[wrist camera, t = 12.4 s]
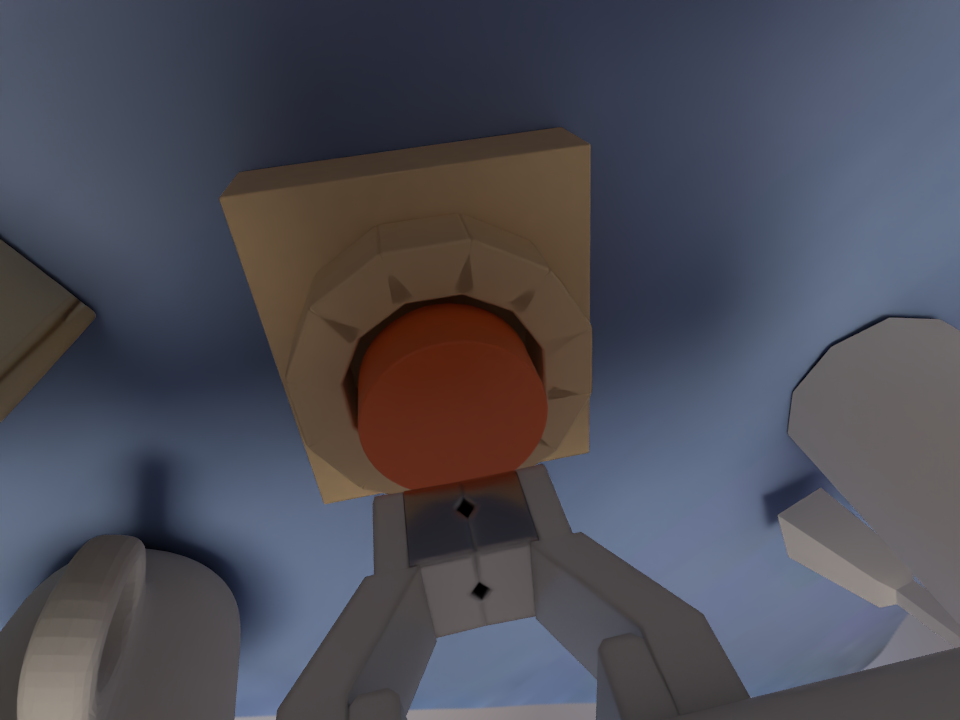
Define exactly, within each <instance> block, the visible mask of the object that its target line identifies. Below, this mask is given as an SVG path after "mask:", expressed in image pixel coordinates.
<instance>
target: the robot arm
mask: <svg viewBox="0 0 960 720" xmlns="http://www.w3.org/2000/svg"><path fill="white" fill-rule="evenodd" d="M373 547H374V575H372V576H367V577H365V578H364V579H363V581H362V582H361V584H360V585H359V587H358V589H357V590H356V592H355V593H354V595H353V596H352V598H351V599H350V601H349V602H348V604H347V605H346V607H345V608H344V610H343V611H342V613H341V614H340V616H339V617H338V619H337V620H336V622H335V623H334V625H333V626H332V628H331V629H330V631H329V632H328V634H327V635H326V637H325V638H324V640H323V641H322V643H321V644H320V646H319V648H318V649H317V651H316V652H315V654H314V655H313V657H312V658H311V660H310V661H309V663H308V664H307V666H306V667H305V669H304V670H303V672H302V673H301V675H300V676H299V678H298V679H297V681H296V682H295V684H294V685H293V687H292V688H291V690H290V691H289V693H288V694H287V696H286V697H285V699H284V700H283V702H282V703H281V705H280V707H279V708H278V710H277V716H276V720H407V718H406V715H407V713H408V710H409V708H410V705H411V703H412V700H413V698H414V696H415V693H416V691H417V688H418V686H419V683H420V681H421V678H422V676H423V674H424V671H425V669H426V666H427V664H428V661H429V659H430V656H431V654H432V652H433V649H434V647H435V644H436V642H437V641H436V638H438V637H442V636H446V635H450V634H454V633H458V632H462V631H466V630H470V629H474V628H478V627H482V626H487V625H492V624H497V623H502V622H507V621H512V620H518V619H523V618H528V617H533V616H536V619H537V620H538V621H539V622H540V623H541V624H542V625H543V626H544V627H545V628H546V629H547V630H548V631H549V632H550V633H551V634H552V635H553V636H554V637H555V638H556V639H557V640H558V641H559V642H560V643H561V644H562V645H563V646H564V647H565V648H566V649H567V650H568V651H569V652H570V653H571V654H572V655H573V656H574V657H575V658H576V659H577V660H578V661H579V662H580V663H581V664H582V665H583V666H584V667H585V668H586V669H587V670H588V671H589V672H590V673H591V674H592V675H593V676H594V677H595V678H596V679H597V703H596V720H960V647H958V648H954V649H950V650H945V651H941V652H937V653H933V654H929V655H925V656H921V657H917V658H913V659H909V660H904V661H900V662H896V663H892V664H888V665H884V666H880V667H876V668H872V669H868V670H863V671H859V672H855V673H851V674H847V675H843V676H839V677H835V678H831V679H827V680H823V681H818V682H814V683H810V684H806V685H802V686H798V687H794V688H790V689H786V690H782V691H778V692H773V693H769V694H765V695H761V696H757V697H753V698H750V696H749V694H748V692H747V691H746V689H745V687H744V685H743V684H742V682H741V680H740V678H739V676H738V675H737V673H736V671H735V669H734V668H733V666H732V664H731V662H730V661H729V659H728V657H727V655H726V653H725V652H724V650H723V648H722V646H721V645H720V643H719V641H718V639H717V638H716V636H715V634H714V632H713V630H712V629H711V627H710V625H709V623H708V622H707V620H706V618H705V616H704V615H703V614H702V613H701V612H699V611H698V610H696V609H695V608H693V607H692V606H690V605H689V604H687V603H686V602H685V601H683V600H682V599H680V598H679V597H677V596H676V595H674V594H673V593H671V592H670V591H668V590H667V589H665V588H664V587H662V586H661V585H659V584H658V583H656V582H655V581H653V580H652V579H650V578H649V577H647V576H646V575H644V574H643V573H641V572H640V571H638V570H637V569H636V568H634V567H633V566H631V565H630V564H628V563H627V562H625V561H624V560H622V559H621V558H619V557H618V556H616V555H615V554H613V553H612V552H610V551H609V550H607V549H606V548H604V547H603V546H601V545H600V544H598V543H597V542H595V541H594V540H592V539H591V538H590V537H588V536H587V535H585V534H584V533H582V532H579V533H572V530H571V528H570V525H569V523H568V521H567V518H566V516H565V513H564V511H563V508H562V506H561V503H560V501H559V498H558V496H557V494H556V491H555V489H554V486H553V484H552V481H551V479H550V476H549V474H548V471H547V469H546V467H545V466H544V465H543V464H540V465H535V466H530V467H526V468H521V469H516V470H515V471H514V470H512V471H507V472H503V473H498V474H493V475H488V476H483V477H478V478H473V479H468V480H463V481H460V482H454V483H448V484H443V485H437V486H431V487H425V488H419V489H413V490H407V491H404V492H400V493H394V494H388V495H382V496H376V497H374V501H373Z"/></svg>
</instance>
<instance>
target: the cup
mask: <svg viewBox="0 0 960 720" xmlns="http://www.w3.org/2000/svg"><path fill="white" fill-rule="evenodd" d="M240 637H241V630H240V616H239V610H238V606H237V603H236V600H235V598H234V596H233V594H232V592H231V590H230V589H229V587H228V586H227V584H226V583H225V582H224V581H223V580H222V579H221V578H220V577H219V576H218V575H217V574H216V573H214V572H213V571H212V570H211V569H209V568H208V567H206V566H204V565H202V564H201V563H199V562H197V561H194V560H192V559H190V558H187V557H185V556H181V555H178V554H174V553H171V552H167V551H160V550H153V549H145V546H144V544H143V543H142V541H140V540H139V539H138V538H136V537H133V536H127V535H100V536H96V537H94V538H92V539H91V540H89V541H88V542H86V543H85V544H84V545H83V546H82V548H81V549H80V550H79V551H78V552H77V553H76V554H75V555H74V557H73V558H72V560H71V561H70V562H69V564H67V565H66V566H64V567H62V568H61V569H59V570H58V571H56V572H55V573H53V574H52V575H51V576H49V577H48V578H47V579H46V580H44V581H43V582H42V583H41V584H40V585H39V586H38V587H37V588H36V589H35V590H34V591H33V592H32V593H31V594H30V595H29V596H28V597H27V598H26V599H25V601H24V602H23V603H22V604H21V606H20V607H19V608H18V610H17V611H16V612H15V613H14V615H13V616H12V617H11V618H10V620H9V621H8V622H7V624H6V625H5V627H4V628H3V629H2V631H1V632H0V720H234V717H235V705H236V693H237V680H238V668H239V655H240Z"/></svg>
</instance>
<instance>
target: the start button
mask: <svg viewBox="0 0 960 720" xmlns="http://www.w3.org/2000/svg"><path fill="white" fill-rule="evenodd" d="M547 416H548V402H547V395H546V392H545V388H544V386H543V384H542V381H541V379H540V377H539V375H538V373H537V371H536V369H535V367H534V365H533V363H532V360H531V358H530V356H529V354H528V352H527V350H526V348H525V346H524V344H523V342H522V340H521V338H520V337H519V335H518V334H517V332H516V331H515V330H514V329H513V328H512V327H511V326H510V325H509V324H508V323H507V322H505V321H504V320H503V319H502V318H500V317H498V316H497V315H495V314H493V313H491V312H489V311H487V310H484V309H482V308H478V307H474V306H471V305H465V304H453V303H445V304H436V305H430V306H426V307H422V308H419V309H416V310H413V311H411V312H409V313H407V314H405V315H403V316H401V317H399V318H397V319H396V320H394V321H393V322H391V323H390V324H389V325H388V326H386V327H385V328H384V329H383V330H382V331H381V332H380V333H379V334H378V335H377V336H376V337H375V338H374V340H373V341H372V343H371V344H370V346H369V347H368V349H367V351H366V353H365V355H364V357H363V359H362V363H361V366H360V370H359V377H358V434H359V439H360V443H361V445H362V448H363V451H364V452H365V454H366V456H367V458H368V459H369V461H370V462H371V463H372V464H373V466H374V467H375V468H376V469H377V470H378V471H379V472H380V473H381V474H382V475H383V476H385V477H386V478H388V479H389V480H390V481H392V482H394V483H396V484H398V485H400V486H402V487H404V488H407V489H410V490H413V489H419V488H425V487H431V486H437V485H443V484H448V483H454V482H460V481H463V480H468V479H473V478H478V477H483V476H488V475H493V474H498V473H503V472H507V471H512V470H514V471H515V470H516V469H517V468H518V467H520V466H521V465H522V464H523V463H524V462H525V461H526V460H527V459H528V457H529V456H530V455H531V454H532V453H533V451H534V450H535V448H536V447H537V445H538V443H539V441H540V439H541V438H542V435H543V432H544V429H545V426H546V421H547Z"/></svg>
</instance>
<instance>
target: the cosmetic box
mask: <svg viewBox="0 0 960 720" xmlns="http://www.w3.org/2000/svg"><path fill="white" fill-rule="evenodd" d="M95 316H96V315H95V313H94V311H93V310H91V309H90V308H89V307H88V306H86V305H85V304H83V303H82V302H81V301H80V300H78V299H77V298H76V297H75V296H73V295H72V294H71V293H70V292H68V291H67V290H66V289H65V288H63V287H62V286H61V285H59V284H58V283H57V282H55V281H54V280H53V279H51V278H50V277H49V276H47V275H46V274H45V273H44V272H42V271H41V270H40V269H39V268H37V267H36V266H35V265H33V264H32V263H31V262H29V261H28V260H27V259H26V258H24V257H23V256H22V255H20V254H19V253H18V252H16V251H15V250H14V249H13V248H11V247H10V246H9V245H7V244H6V243H5V242H3V241H2V240H1V239H0V423H1V422H2V421H3V419H4V418H5V417H6V416H7V415H8V414H9V413H10V412H11V411H12V410H13V409H14V408H15V406H16V405H17V404H18V403H19V402H20V401H21V400H22V399H23V398H24V397H25V396H26V394H27V393H28V392H29V391H30V390H31V389H32V388H33V387H34V386H35V384H36V383H37V382H38V381H39V380H40V379H41V378H42V377H43V376H44V375H45V374H46V373H47V371H48V370H49V369H50V368H51V367H52V366H53V365H54V364H55V363H56V361H57V360H58V359H59V358H60V357H61V356H62V355H63V354H64V353H65V351H66V350H67V349H68V348H69V347H70V346H71V345H72V344H73V343H74V342H75V340H76V339H77V338H78V337H79V336H80V335H81V334H82V333H83V331H84V330H85V329H86V328H87V327H88V326H89V325H90V324H91V323H92V321H93V320H94V319H95Z"/></svg>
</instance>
